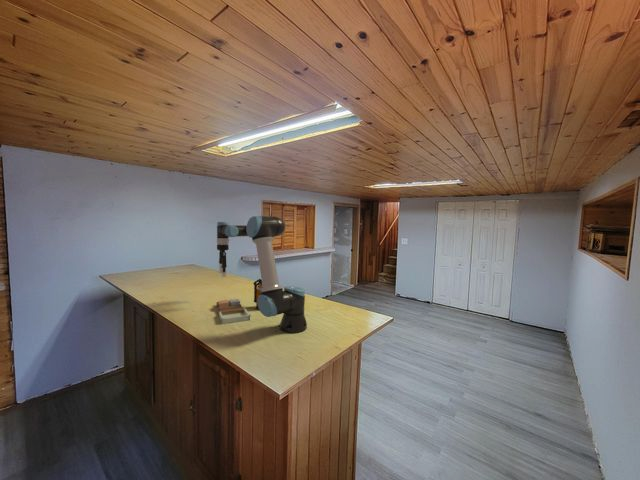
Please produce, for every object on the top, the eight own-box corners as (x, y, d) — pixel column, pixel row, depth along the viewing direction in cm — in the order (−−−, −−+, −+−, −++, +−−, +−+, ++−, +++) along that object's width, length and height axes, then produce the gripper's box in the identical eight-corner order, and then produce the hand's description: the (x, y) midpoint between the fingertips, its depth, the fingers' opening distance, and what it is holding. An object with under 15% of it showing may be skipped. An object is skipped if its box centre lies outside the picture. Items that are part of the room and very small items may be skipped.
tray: (250, 320, 160) (250, 315, 160) (221, 324, 153) (221, 319, 153) (245, 313, 172) (245, 308, 172) (218, 316, 164) (219, 311, 164)
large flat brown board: (243, 313, 171) (243, 309, 171) (220, 316, 165) (220, 312, 165) (237, 303, 191) (237, 299, 191) (216, 305, 184) (216, 302, 184)
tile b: (240, 304, 180) (240, 301, 180) (230, 306, 177) (230, 302, 177) (238, 302, 185) (238, 298, 185) (229, 303, 182) (229, 299, 182)
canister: (268, 310, 178) (268, 281, 177) (251, 309, 178) (251, 280, 177) (270, 306, 187) (271, 278, 185) (255, 305, 187) (255, 277, 186)
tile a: (229, 306, 177) (229, 302, 176) (219, 307, 174) (219, 303, 174) (227, 303, 182) (227, 299, 182) (218, 304, 179) (218, 300, 179)
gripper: (231, 246, 174) (230, 278, 176) (226, 242, 196) (225, 271, 198) (219, 246, 171) (218, 279, 173) (215, 242, 193) (214, 271, 195)
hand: (222, 274), depth 185 cm, fingers open, 12 cm apart
